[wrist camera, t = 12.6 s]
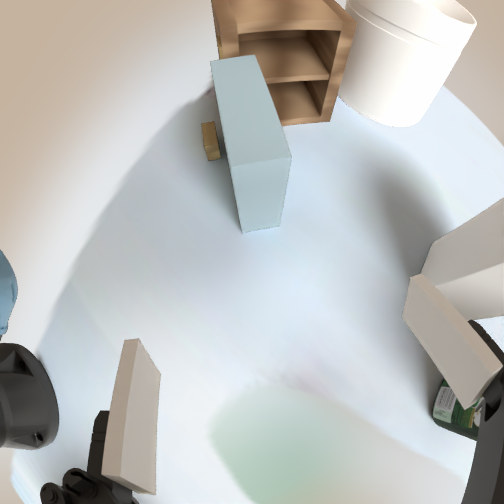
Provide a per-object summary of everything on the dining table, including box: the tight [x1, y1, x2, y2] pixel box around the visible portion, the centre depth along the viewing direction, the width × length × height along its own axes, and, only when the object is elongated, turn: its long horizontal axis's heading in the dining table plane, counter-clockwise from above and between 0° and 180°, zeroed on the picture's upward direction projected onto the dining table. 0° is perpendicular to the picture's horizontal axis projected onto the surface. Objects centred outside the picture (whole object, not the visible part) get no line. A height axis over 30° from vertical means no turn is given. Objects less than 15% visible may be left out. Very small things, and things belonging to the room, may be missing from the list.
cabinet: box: [201, 0, 357, 161], centre depth 27 cm, size 16×14×16 cm
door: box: [210, 55, 292, 233], centre depth 25 cm, size 4×12×13 cm, turn 11°
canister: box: [338, 0, 477, 127], centre depth 26 cm, size 16×16×20 cm
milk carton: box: [420, 197, 504, 321], centre depth 19 cm, size 7×7×19 cm
